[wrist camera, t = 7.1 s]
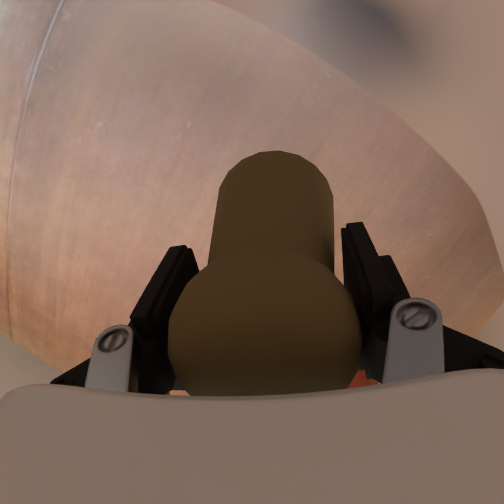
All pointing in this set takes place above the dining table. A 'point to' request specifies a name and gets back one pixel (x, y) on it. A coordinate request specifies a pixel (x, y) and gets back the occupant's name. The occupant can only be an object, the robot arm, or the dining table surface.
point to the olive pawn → (267, 290)
